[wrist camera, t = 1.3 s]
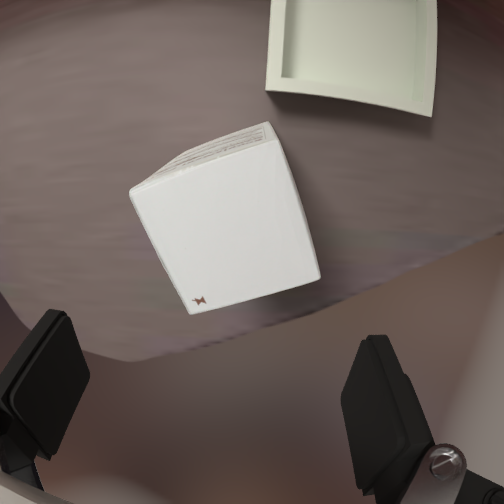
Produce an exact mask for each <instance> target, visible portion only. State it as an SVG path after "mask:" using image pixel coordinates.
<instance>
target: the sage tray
mask: <svg viewBox="0 0 504 504" xmlns="http://www.w3.org/2000/svg"><path fill="white" fill-rule="evenodd" d="M436 57H437V0H271V7H270V23H269V39H268V55H267V70H266V86H265V91H275V92H287V93H297V94H306V95H315V96H322V97H330V98H337V99H343V100H349V101H355V102H361V103H367V104H372V105H377V106H382V107H387V108H391V109H396V110H400V111H405V112H409V113H413V114H417V115H422V116H428V117H432V109H433V100H434V89H435V75H436Z"/></svg>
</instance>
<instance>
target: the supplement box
mask: <svg viewBox="0 0 504 504" xmlns="http://www.w3.org/2000/svg"><path fill="white" fill-rule="evenodd" d="M129 195H130V199H131V201H132V203H133V205H134V207H135V210H136V212H137V214H138V216H139V218H140V220H141V222H142V224H143V226H144V228H145V230H146V232H147V234H148V236H149V238H150V240H151V242H152V244H153V246H154V248H155V250H156V252H157V254H158V256H159V259H160V261H161V263H162V265H163V266H164V268H165V270H166V271H167V273H168V275H169V277H170V279H171V281H172V283H173V285H174V286H175V288H176V290H177V292H178V294H179V296H180V298H181V299H182V301H183V303H184V305H185V307H186V309H187V311H188V313H189V314H190V315H194V314H197V313H201V312H205V311H209V310H213V309H217V308H221V307H225V306H229V305H232V304H236V303H240V302H244V301H247V300H251V299H255V298H258V297H262V296H266V295H269V294H273V293H276V292H280V291H283V290H287V289H290V288H294V287H297V286H301V285H304V284H308V283H311V282H313V281H316V280H319V279H320V278H321V275H320V270H319V265H318V261H317V257H316V253H315V249H314V245H313V241H312V237H311V233H310V230H309V226H308V222H307V219H306V215H305V212H304V209H303V205H302V202H301V199H300V196H299V193H298V189H297V187H296V184H295V181H294V178H293V175H292V172H291V169H290V167H289V164H288V161H287V159H286V156H285V153H284V151H283V148H282V146H281V143H280V141H279V139H278V137H277V135H276V133H275V131H274V129H273V127H272V126H271V124H270V123H269V122H268V121H267V122H264V123H261V124H258V125H255V126H252V127H249V128H246V129H243V130H240V131H237V132H234V133H231V134H229V135H226V136H223V137H220V138H218V139H215V140H212V141H210V142H207V143H204V144H202V145H199V146H197V147H194V148H192V149H190V150H187V151H185V152H184V153H182V154H181V155H179V156H177V157H176V158H174V159H173V160H172V161H170V162H169V163H167V164H166V165H165V166H163V167H162V168H161V169H159V170H158V171H157V172H155V173H154V174H153V175H151V176H150V177H148V178H147V179H146V180H144V181H143V182H142V183H140V184H138V185H137V186H135V187H133V188H131V190H130V191H129Z"/></svg>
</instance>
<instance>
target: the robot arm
mask: <svg viewBox="0 0 504 504" xmlns="http://www.w3.org/2000/svg"><path fill="white" fill-rule="evenodd" d="M89 379H90V372H89V369H88V366H87V364H86V361H85V359H84V356H83V353H82V350H81V348H80V345H79V342H78V339H77V336H76V333H75V331H74V328H73V324H72V321H71V319H70V317H68V316H67V314H66V313H65V312H64V311H59V310H54V309H49V310H48V311H47V312H46V313H45V314H44V315H43V317H42V318H41V319H40V320H39V322H38V323H37V324H36V326H35V327H34V328H33V330H32V331H31V332H30V334H29V335H28V336H27V337H26V339H25V340H24V342H23V343H22V344H21V346H20V347H19V348H18V350H17V351H16V353H15V354H14V355H13V357H12V358H11V360H10V361H9V362H8V364H7V366H6V367H5V368H4V370H3V371H2V373H1V374H0V504H74V503H71V502H68V501H66V500H63V499H61V498H58V497H56V496H53V495H51V494H49V493H46V492H45V491H44V488H43V486H42V483H41V480H40V477H39V474H38V471H37V468H36V465H35V462H34V459H35V457H36V455H37V456H39V457H41V458H44V459H46V460H49V461H50V459H51V456H52V455H55V454H56V453H57V451H58V448H59V446H60V444H61V441H62V439H63V436H64V434H65V432H66V430H67V427H68V425H69V423H70V420H71V418H72V416H73V414H74V412H75V409H76V407H77V405H78V403H79V401H80V398H81V396H82V394H83V392H84V390H85V388H86V386H87V384H88V382H89ZM341 406H342V411H343V415H344V420H345V426H346V430H347V435H348V441H349V446H350V452H351V457H352V462H353V468H354V474H355V479H356V485H357V487H358V489H362V491H363V496H367V495H373V494H375V500H376V503H377V504H504V487H502V486H500V485H498V484H496V483H494V482H492V481H490V480H488V479H485V478H483V477H482V476H479V475H477V474H475V473H473V472H472V471H469V470H468V469H467V463H466V458H465V456H464V454H463V453H462V451H461V450H460V449H459V448H457V447H456V446H454V445H451V444H447V443H440V444H437V445H435V443H434V440H433V437H432V434H431V431H430V429H429V426H428V423H427V421H426V418H425V416H424V413H423V410H422V408H421V405H420V403H419V400H418V398H417V395H416V393H415V390H414V388H413V386H412V383H411V381H410V379H409V377H408V376H407V375H406V374H404V373H403V371H402V368H401V366H400V363H399V361H398V359H397V356H396V354H395V352H394V350H393V347H392V345H391V343H390V340H389V338H388V337H387V335H368V337H367V338H366V340H362V341H361V343H360V346H359V349H358V352H357V354H356V357H355V360H354V362H353V365H352V368H351V370H350V373H349V376H348V379H347V381H346V384H345V386H344V389H343V391H342V394H341Z"/></svg>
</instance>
